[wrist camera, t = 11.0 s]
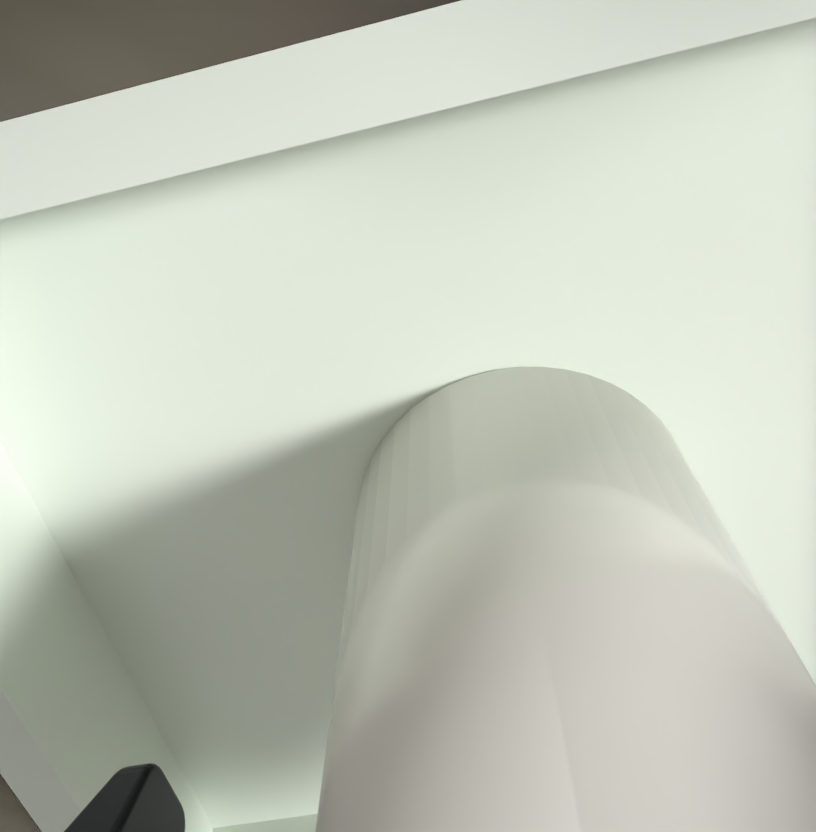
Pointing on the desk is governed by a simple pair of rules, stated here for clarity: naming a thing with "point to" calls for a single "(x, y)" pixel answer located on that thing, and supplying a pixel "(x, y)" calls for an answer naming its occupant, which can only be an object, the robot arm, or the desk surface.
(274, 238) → the tray
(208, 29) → the desk surface
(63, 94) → the desk surface
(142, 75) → the desk surface
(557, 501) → the cylinder
